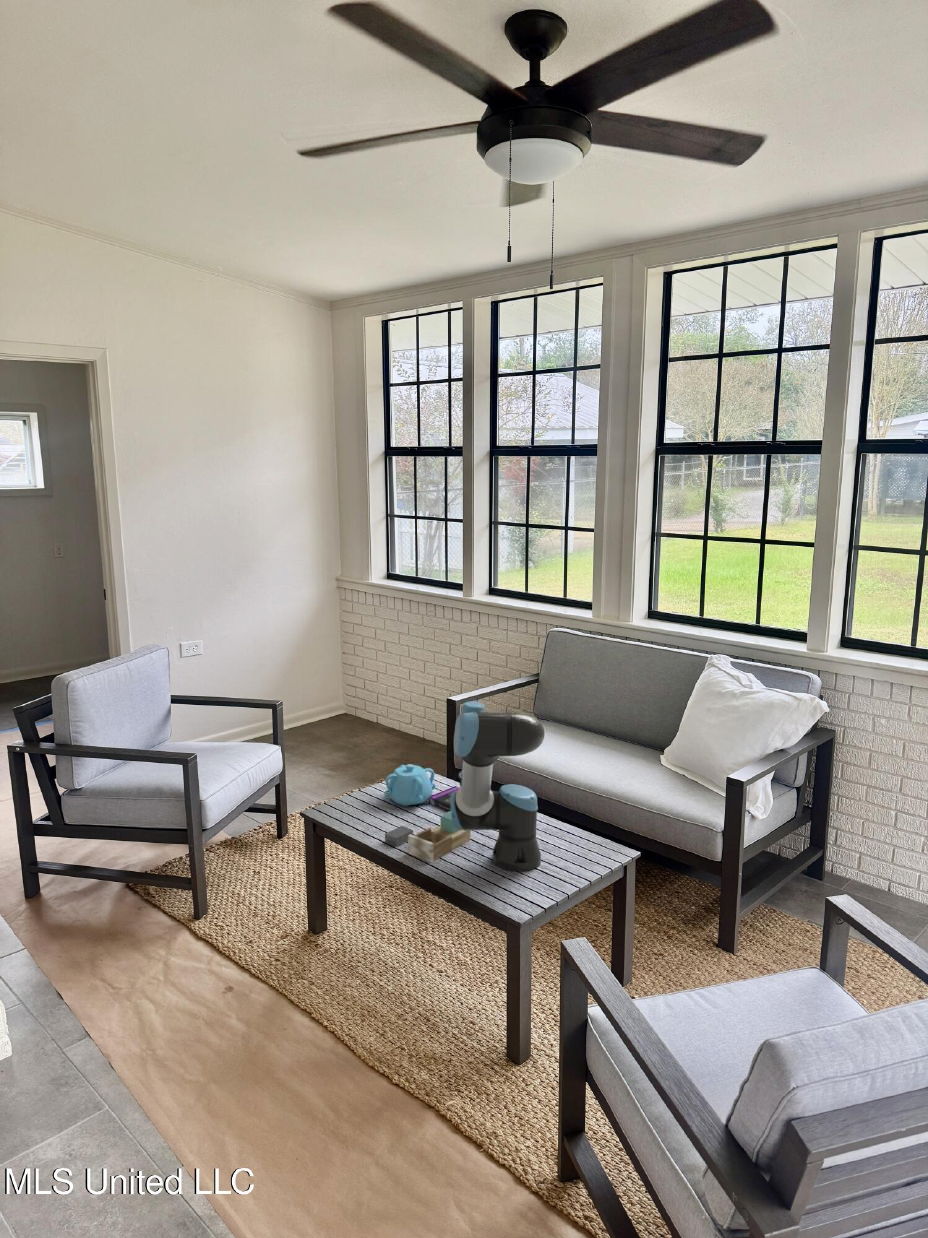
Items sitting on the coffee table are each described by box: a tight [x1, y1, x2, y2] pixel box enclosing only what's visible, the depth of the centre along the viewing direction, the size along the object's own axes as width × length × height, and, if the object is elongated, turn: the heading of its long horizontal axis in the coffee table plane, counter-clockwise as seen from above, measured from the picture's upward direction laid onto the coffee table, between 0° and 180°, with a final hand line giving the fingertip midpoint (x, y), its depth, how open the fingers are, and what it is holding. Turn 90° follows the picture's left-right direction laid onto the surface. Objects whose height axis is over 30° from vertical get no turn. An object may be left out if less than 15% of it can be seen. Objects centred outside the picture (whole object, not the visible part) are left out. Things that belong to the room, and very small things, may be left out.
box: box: [427, 785, 460, 812], centre depth 293 cm, size 14×4×20 cm
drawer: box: [407, 825, 472, 863], centre depth 260 cm, size 10×20×6 cm, turn 142°
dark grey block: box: [384, 825, 414, 848], centre depth 264 cm, size 5×8×3 cm, turn 142°
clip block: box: [439, 811, 459, 834], centre depth 264 cm, size 6×6×4 cm
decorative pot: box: [383, 763, 436, 807], centre depth 296 cm, size 16×16×14 cm
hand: (471, 815), depth 272 cm, fingers closed
